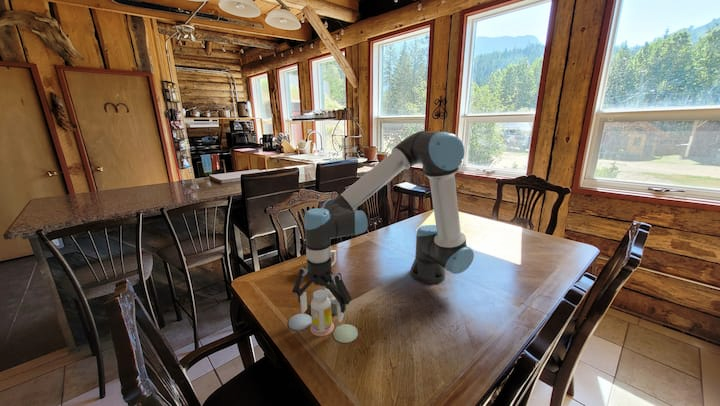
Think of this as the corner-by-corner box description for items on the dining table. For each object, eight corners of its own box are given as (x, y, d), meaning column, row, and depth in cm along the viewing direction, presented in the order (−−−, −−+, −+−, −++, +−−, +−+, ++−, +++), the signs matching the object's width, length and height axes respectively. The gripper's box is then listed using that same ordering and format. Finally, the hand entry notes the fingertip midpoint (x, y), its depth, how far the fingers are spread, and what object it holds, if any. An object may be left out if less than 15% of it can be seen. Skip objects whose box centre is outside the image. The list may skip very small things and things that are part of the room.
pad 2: (338, 322, 99) (337, 321, 99) (327, 338, 91) (327, 337, 91) (317, 317, 101) (317, 316, 101) (305, 332, 94) (305, 331, 94)
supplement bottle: (331, 319, 100) (330, 287, 96) (331, 332, 94) (330, 299, 90) (312, 320, 99) (310, 288, 96) (311, 334, 93) (309, 300, 89)
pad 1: (316, 317, 101) (316, 316, 101) (304, 332, 94) (304, 331, 94) (296, 312, 104) (296, 311, 104) (283, 326, 97) (283, 325, 97)
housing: (346, 300, 111) (346, 290, 109) (336, 315, 102) (336, 304, 101) (325, 295, 114) (324, 286, 112) (314, 309, 105) (313, 299, 104)
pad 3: (361, 328, 96) (361, 327, 96) (352, 345, 89) (352, 344, 89) (339, 323, 99) (339, 322, 98) (329, 339, 91) (329, 338, 91)
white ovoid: (340, 299, 109) (340, 284, 107) (334, 308, 104) (333, 293, 102) (327, 297, 111) (326, 282, 109) (320, 305, 106) (319, 290, 104)
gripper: (360, 258, 88) (361, 316, 94) (291, 247, 96) (295, 301, 102) (352, 270, 81) (353, 331, 88) (277, 257, 89) (283, 314, 96)
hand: (322, 315), depth 95 cm, fingers open, 13 cm apart
